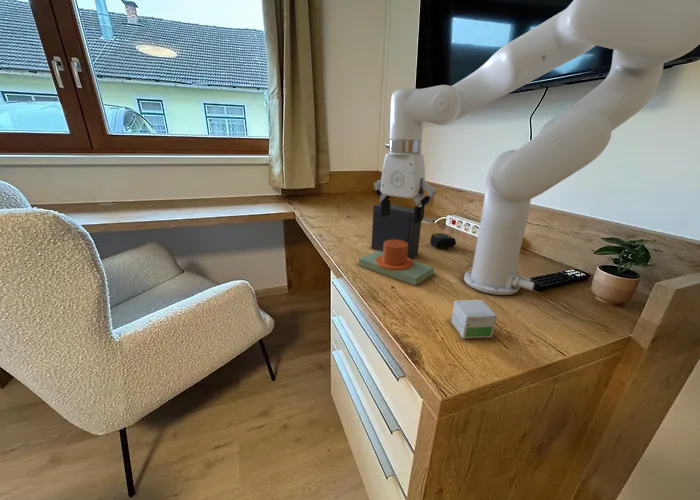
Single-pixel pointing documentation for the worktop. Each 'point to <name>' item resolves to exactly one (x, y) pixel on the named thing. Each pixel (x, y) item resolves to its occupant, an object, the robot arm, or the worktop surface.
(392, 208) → the dark upright block
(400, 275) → the stand
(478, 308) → the small box
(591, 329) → the worktop surface
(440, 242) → the tape measure
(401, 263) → the hat
